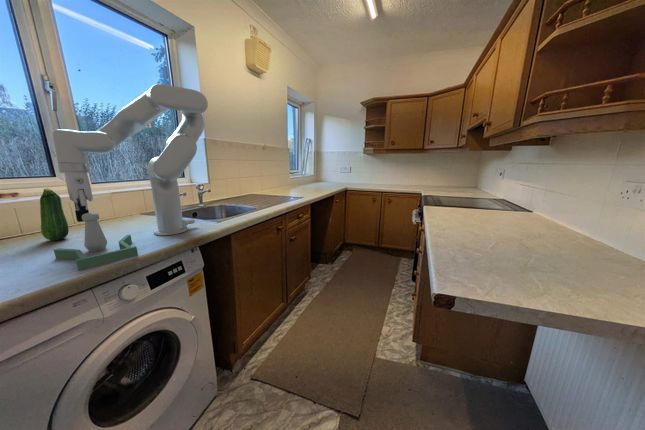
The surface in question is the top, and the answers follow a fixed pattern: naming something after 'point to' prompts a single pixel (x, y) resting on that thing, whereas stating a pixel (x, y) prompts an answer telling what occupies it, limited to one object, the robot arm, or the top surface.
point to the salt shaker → (93, 233)
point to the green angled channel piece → (98, 259)
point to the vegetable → (52, 216)
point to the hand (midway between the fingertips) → (83, 220)
